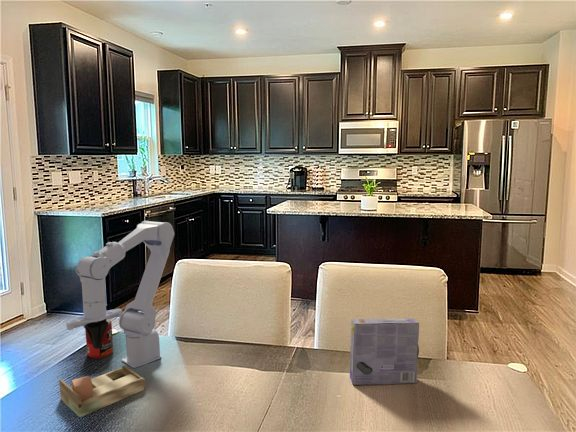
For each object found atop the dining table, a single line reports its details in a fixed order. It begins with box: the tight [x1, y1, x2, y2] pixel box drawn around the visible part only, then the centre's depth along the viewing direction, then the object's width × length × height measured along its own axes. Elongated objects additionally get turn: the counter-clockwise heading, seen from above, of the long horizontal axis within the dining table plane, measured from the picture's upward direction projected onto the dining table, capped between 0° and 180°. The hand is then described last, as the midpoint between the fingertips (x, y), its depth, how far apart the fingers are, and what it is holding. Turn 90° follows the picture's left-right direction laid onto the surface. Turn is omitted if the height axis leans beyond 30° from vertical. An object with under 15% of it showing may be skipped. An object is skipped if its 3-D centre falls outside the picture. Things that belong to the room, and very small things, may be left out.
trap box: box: [58, 364, 147, 418], centre depth 117 cm, size 18×12×5 cm
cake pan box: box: [349, 317, 420, 386], centre depth 122 cm, size 19×5×18 cm, turn 94°
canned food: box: [84, 318, 114, 359], centre depth 141 cm, size 8×8×11 cm
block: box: [71, 375, 93, 400], centre depth 112 cm, size 4×4×4 cm
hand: (97, 347), depth 122 cm, fingers closed
